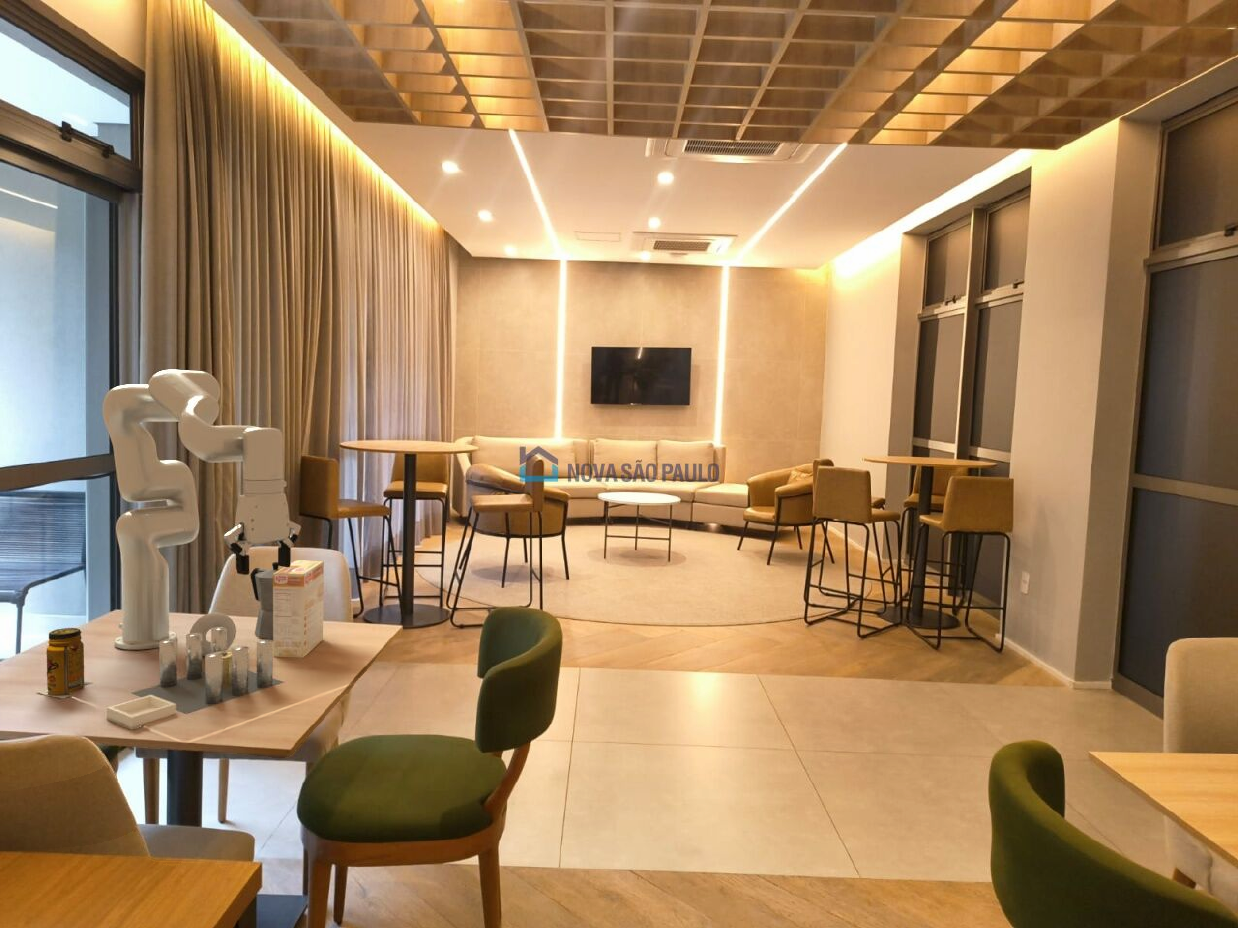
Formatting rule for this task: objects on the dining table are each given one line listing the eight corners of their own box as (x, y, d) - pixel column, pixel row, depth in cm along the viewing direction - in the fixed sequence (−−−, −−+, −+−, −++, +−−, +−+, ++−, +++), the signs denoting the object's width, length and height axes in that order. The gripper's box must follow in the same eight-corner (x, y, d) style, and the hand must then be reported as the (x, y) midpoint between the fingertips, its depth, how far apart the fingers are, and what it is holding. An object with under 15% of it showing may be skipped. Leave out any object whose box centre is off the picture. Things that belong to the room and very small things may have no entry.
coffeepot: (309, 634, 203) (310, 562, 202) (277, 643, 195) (277, 568, 194) (267, 623, 211) (267, 554, 209) (234, 632, 202) (234, 560, 201)
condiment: (36, 693, 159) (35, 632, 158) (79, 679, 167) (78, 622, 166) (62, 699, 156) (61, 637, 155) (104, 685, 164) (103, 627, 163)
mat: (131, 694, 160) (131, 692, 160) (229, 666, 178) (229, 664, 178) (186, 715, 151) (186, 713, 151) (284, 683, 169) (284, 681, 169)
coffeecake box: (295, 638, 199) (295, 559, 198) (324, 639, 200) (325, 560, 198) (271, 658, 184) (271, 572, 183) (303, 659, 185) (303, 573, 183)
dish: (106, 719, 148) (106, 707, 148) (151, 705, 155) (150, 694, 154) (131, 729, 144) (131, 717, 144) (176, 715, 151) (176, 703, 150)
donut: (192, 663, 179) (192, 618, 178) (186, 659, 182) (186, 614, 181) (238, 653, 187) (238, 610, 186) (232, 650, 189) (232, 607, 188)
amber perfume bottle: (219, 689, 163) (219, 659, 163) (203, 684, 166) (203, 654, 165) (238, 683, 167) (238, 654, 167) (223, 678, 170) (223, 649, 169)
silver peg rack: (156, 685, 164) (156, 641, 163) (221, 667, 176) (221, 626, 175) (211, 705, 155) (211, 658, 154) (275, 684, 167) (276, 641, 166)
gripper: (287, 483, 178) (288, 561, 179) (212, 489, 163) (214, 574, 164) (310, 485, 174) (311, 565, 175) (236, 492, 159) (237, 579, 160)
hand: (264, 570), depth 170 cm, fingers open, 9 cm apart
